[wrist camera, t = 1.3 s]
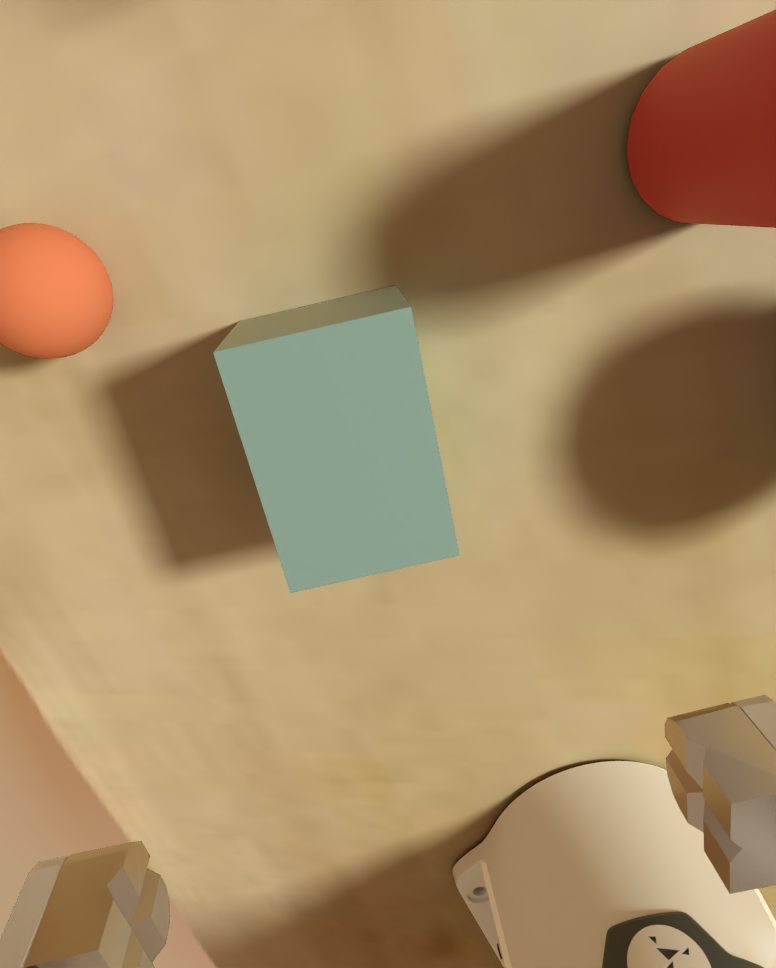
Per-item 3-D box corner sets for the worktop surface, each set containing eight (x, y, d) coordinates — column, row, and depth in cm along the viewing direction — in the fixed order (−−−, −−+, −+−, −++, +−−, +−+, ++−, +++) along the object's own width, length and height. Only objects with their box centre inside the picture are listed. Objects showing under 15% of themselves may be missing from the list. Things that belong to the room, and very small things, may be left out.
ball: (145, 330, 29) (110, 354, 24) (34, 356, 29) (-23, 384, 24) (102, 208, 27) (54, 209, 22) (-17, 236, 27) (-90, 243, 22)
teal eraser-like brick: (436, 490, 33) (459, 555, 27) (298, 521, 33) (290, 593, 27) (395, 285, 29) (411, 306, 23) (238, 321, 29) (212, 352, 23)
